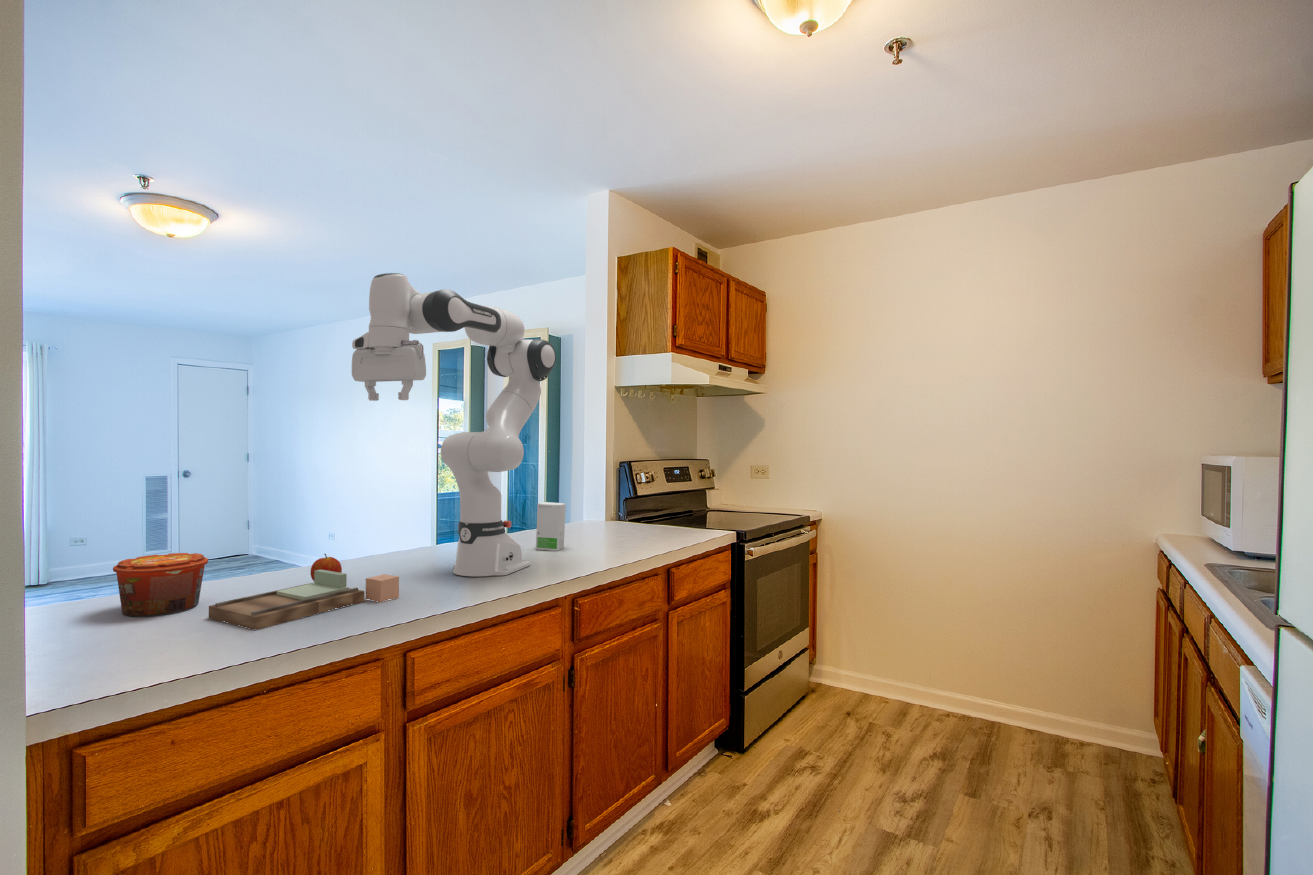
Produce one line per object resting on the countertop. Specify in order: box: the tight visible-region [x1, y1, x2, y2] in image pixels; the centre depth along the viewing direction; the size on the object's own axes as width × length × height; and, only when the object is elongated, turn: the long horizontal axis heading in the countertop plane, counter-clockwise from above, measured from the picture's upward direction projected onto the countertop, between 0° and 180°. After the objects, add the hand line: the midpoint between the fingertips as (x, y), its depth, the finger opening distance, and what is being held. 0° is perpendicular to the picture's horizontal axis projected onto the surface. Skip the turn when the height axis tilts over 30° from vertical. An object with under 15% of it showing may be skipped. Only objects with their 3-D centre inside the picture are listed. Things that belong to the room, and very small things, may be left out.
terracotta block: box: [365, 574, 400, 603], centre depth 144 cm, size 5×5×5 cm
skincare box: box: [535, 501, 567, 552], centre depth 211 cm, size 8×7×16 cm
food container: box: [112, 552, 209, 618], centre depth 133 cm, size 16×16×11 cm
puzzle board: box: [208, 582, 365, 630], centre depth 134 cm, size 24×16×3 cm, turn 153°
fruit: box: [310, 553, 343, 582], centre depth 156 cm, size 7×7×8 cm
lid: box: [276, 570, 349, 600], centre depth 139 cm, size 10×10×4 cm
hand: (388, 400), depth 147 cm, fingers open, 8 cm apart
